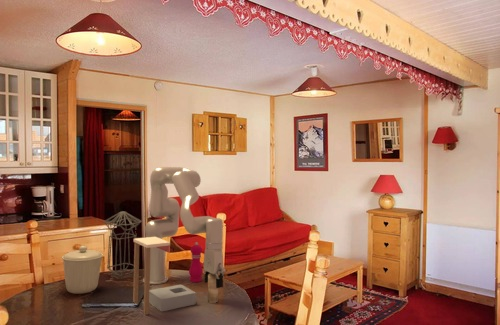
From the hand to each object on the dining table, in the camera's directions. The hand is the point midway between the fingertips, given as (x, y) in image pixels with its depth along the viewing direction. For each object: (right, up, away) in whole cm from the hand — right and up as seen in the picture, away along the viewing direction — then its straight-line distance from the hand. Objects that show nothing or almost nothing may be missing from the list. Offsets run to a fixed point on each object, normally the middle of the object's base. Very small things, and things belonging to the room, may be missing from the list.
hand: (213, 284), depth 175 cm
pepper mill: (-12, -8, +31) cm, 34 cm away
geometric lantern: (-52, -7, +35) cm, 63 cm away
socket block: (-18, -7, -3) cm, 20 cm away
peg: (0, -7, 0) cm, 7 cm away
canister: (-63, -6, +11) cm, 64 cm away
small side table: (-26, -7, -9) cm, 28 cm away
